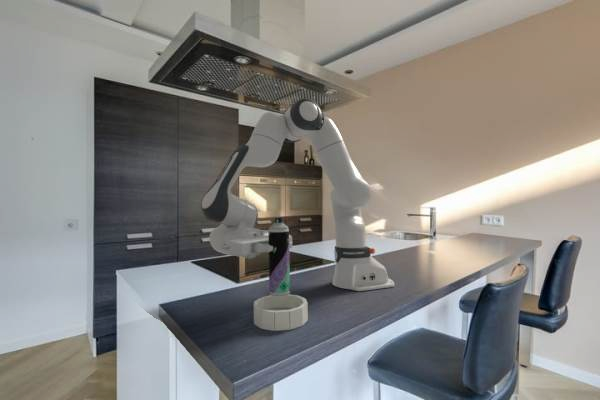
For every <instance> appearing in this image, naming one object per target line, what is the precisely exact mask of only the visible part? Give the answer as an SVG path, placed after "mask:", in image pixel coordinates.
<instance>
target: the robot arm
mask: <svg viewBox="0 0 600 400" xmlns="http://www.w3.org/2000/svg"><path fill="white" fill-rule="evenodd" d="M305 137H306V138H307V139H308V140H309V141H310V142H311V143H312V144H311V145H313V148H314V150H315V154H316V156H317V159H318V161H319V163H320V166H321V169H322V170H323V173H324V174H325V175H326V176H327V178H328V179H329V181H330V182H331V185H332V186H333V187H332V190H331V191H330V199H331V205H332V213H333V214H332V215H333V219H334V228H335V246H334V261H335V265H334V267H335V268H334V274H333V278H332V279H333V280H332V282H331V283H332V285H333V286H335V287H336V288H340V289H346V290H352V291H355V292H362V291H363V292H364V291H371V290H378V289H386V288H394V287H395V282H394V280H393V279H391V278H390V277H388V272H387V269H386V267H385V265H383V264H382V263H381V262H379V261H378V260H377V259H376V258H374V257H373V256H371V255H375V254H376V251H375V248H374V247H368V246H367V245H366V223H365V221H364V219H363V216H362V215H363V214H362V208H364V207H365V206H367V204H369V202H370V201H371V199H372V196H373V192H372V188H371V186H370V185H369V183H368V182H367V181H366V180H365V179H364V178H363V176H362V175H361V173H360V171H359V170H358V168H357V167H356V165H355V164H354V162H353V160H352V158H351V156H350V153H349V151H348V148H347V146H346V144H345V141H344V139H343V135H341V133H340V130H339V129H338V127H337V125H336V124H335V123H334V121H333V119H331V118H329V117H325V115H324V112H323V111H322V110H321V108H320V106H319V105H318V104H317V103H316V102H315V101H314V100H313V99H310V98H300V99H298V100H296V101H295V102H293V103H292V105H291V106H290V107H289V108H288V109H287V110H286V111H285V112H284V114H283V115H282V114H279V113H277V112H273V111H267V112H265V113H263V114H262V115H261V117H260V118H259V120H258V121H257V123H256V125H255V127H254V129H253V131H252V133H251V136H250V138H249V140H248V142H247V143H246V144H242V145H239V146H238V147H237V148H236V149H235V150H234V152H232V154H231V155H230V157H229V158H228V160H227V162H226V163H225V165H224V167H223V168H222V170H221V171H220V174H219V175H218V176H217V178H216V180H215V181H214V183H213V184H212V185H211V187H210V188H209V189H208V191H207V192H206V193H205V194H204V196H203V198H202V200H201V202H200V208H201V212H202V214H203V216H204V218H205V219H206V220H208V221H211V222H215V223H219V224H220V225H218V226H217V227H215V228H214V229H212V230H211V232H210V234H209V237H208V239H209V243H210V246H211V247H212V248H213V249H214V250H215V251H216V252H218V253H221V254H224V255H227V256H234V257H235V256H236V257H238V258H239V257H240V258H246V259H253V258H256V257H257V256H260V255H261V254H263V253H269V252H272V251H274V245H272V244H269V237H268V230H269V229H259V228H256V227H257V223H258V217H259V214H258V209H257V206H256V205H255V204H254V203H251V202H250V201H249V200H246V199H243V198H241V197H239V196H236V195H235V194H232V188H233V187H234V185H235V183H236V181H237V179H238V178H239V176H240V174H241V172H242V171H243V169H245V168H246V167H251V168H267V167H270V166H272V165H273V164H275V163H276V162H277V160H278V159H279V156H280V154H281V151H282V147H283V144H284V142H287V143H297V142H299V141H301V140H302V139H303V138H305ZM292 248H293V236H292V235H291V234H289V249H292Z"/></svg>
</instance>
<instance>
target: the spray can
mask: <svg viewBox="0 0 600 400" xmlns="http://www.w3.org/2000/svg"><path fill="white" fill-rule="evenodd" d="M267 230H268V237H269V244H272V245H274V251H272V252H268V280H269V281H268V283H269V284H268V288H269V289H268V291H269V295H272V296H285V295H288V294H290V293H291V281H290V280H291V277H290V275H291V274H290V273H291V272H290V271H291V270H290V265H291V264H290V248H289V235H290V230H289V226H288V225H286V224H285V222H283V219H282V217H275V221H274V222H273V224H271V225H270V226H269V227H268V229H267Z"/></svg>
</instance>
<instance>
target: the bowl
mask: <svg viewBox="0 0 600 400" xmlns="http://www.w3.org/2000/svg"><path fill="white" fill-rule="evenodd" d="M308 307H309V305H308V300H307V299H306V298H305V297H302V296H301V295H298V294H292V293H291V294H288V295H285V296H272V295H270V294H269V295H265V296H261V297H260V298H258V299H256V300H254V302H253V325H255V326H257V327H258V328H260V329H262V330H266V331H272V332H277V331H278V332H280V331H290V330H293V329H297V328H300V327H302V326H303V325H305V324H306V323H307V322H308V320H309V318H308V317H309V311H308V309H309V308H308Z"/></svg>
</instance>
